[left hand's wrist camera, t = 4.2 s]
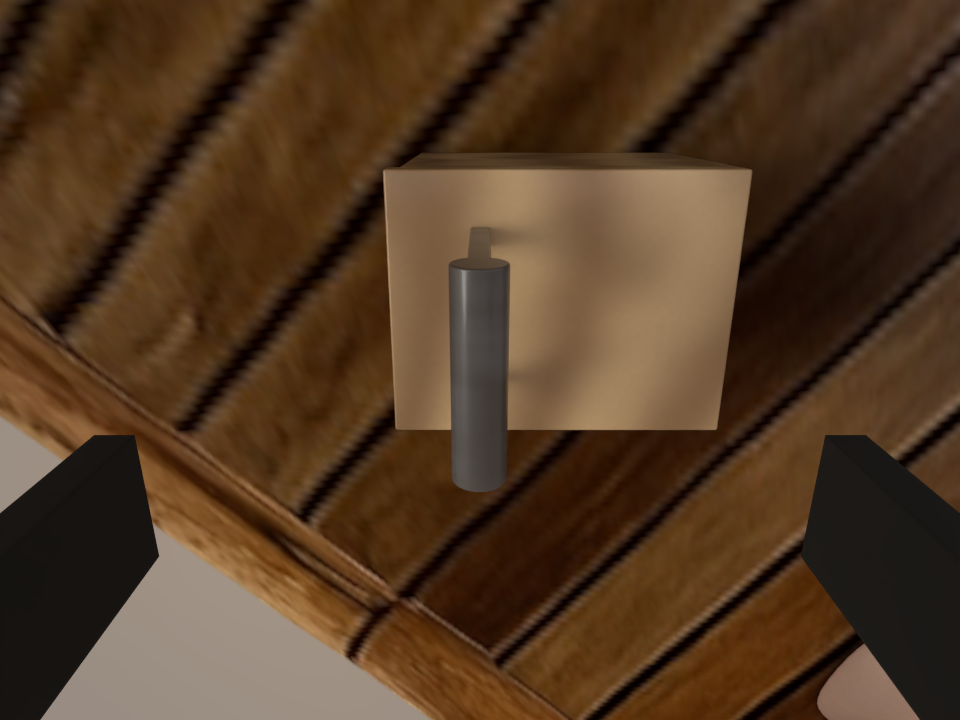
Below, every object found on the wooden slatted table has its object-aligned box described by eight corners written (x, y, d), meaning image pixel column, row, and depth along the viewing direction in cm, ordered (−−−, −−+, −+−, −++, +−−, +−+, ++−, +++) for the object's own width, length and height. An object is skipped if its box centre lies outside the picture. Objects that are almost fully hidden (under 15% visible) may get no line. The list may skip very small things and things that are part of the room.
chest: (426, 344, 37) (408, 419, 28) (421, 152, 33) (398, 167, 24) (653, 344, 37) (709, 420, 28) (671, 152, 33) (743, 167, 24)
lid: (398, 420, 28) (363, 547, 20) (386, 167, 24) (337, 194, 16) (709, 420, 28) (805, 547, 20) (743, 167, 24) (877, 193, 16)
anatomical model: (826, 783, 43) (900, 647, 39) (799, 730, 47) (864, 601, 43) (1014, 812, 44) (1105, 682, 40) (972, 757, 48) (1052, 634, 44)
